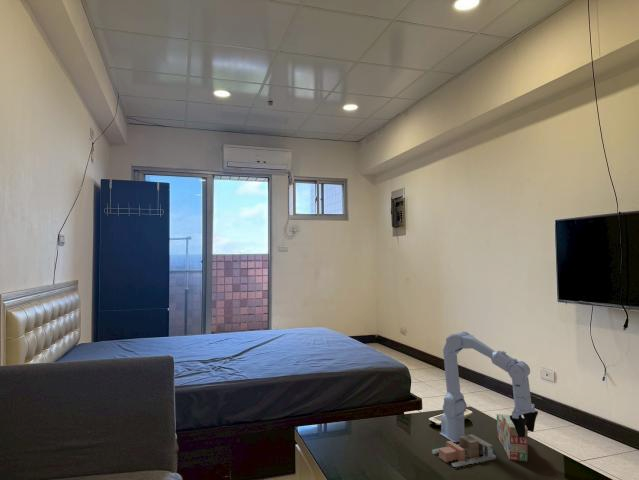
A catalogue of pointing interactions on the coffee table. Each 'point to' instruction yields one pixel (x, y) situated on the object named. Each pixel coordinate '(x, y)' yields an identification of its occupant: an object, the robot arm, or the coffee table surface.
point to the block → (469, 446)
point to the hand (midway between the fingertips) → (526, 433)
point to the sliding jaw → (452, 452)
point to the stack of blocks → (512, 438)
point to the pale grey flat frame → (484, 450)
